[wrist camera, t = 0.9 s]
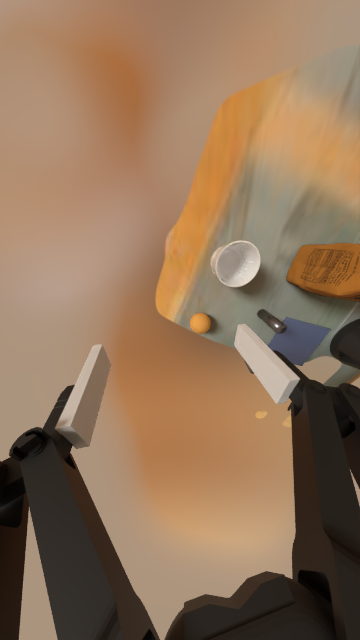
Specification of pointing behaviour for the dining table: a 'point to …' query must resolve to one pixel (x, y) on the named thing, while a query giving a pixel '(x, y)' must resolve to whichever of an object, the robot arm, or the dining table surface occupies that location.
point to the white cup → (236, 263)
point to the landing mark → (298, 340)
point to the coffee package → (328, 270)
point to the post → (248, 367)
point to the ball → (200, 323)
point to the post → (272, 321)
